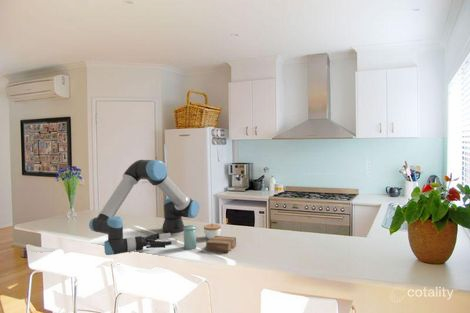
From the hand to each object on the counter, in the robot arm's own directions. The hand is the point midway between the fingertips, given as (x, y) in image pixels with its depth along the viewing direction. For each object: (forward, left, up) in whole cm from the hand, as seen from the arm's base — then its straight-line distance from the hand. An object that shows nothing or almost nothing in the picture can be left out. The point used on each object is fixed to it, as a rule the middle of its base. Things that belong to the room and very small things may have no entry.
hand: (173, 238), depth 196 cm
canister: (-7, +7, -7) cm, 12 cm away
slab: (-11, +25, -7) cm, 28 cm away
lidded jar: (-28, +12, -7) cm, 31 cm away
